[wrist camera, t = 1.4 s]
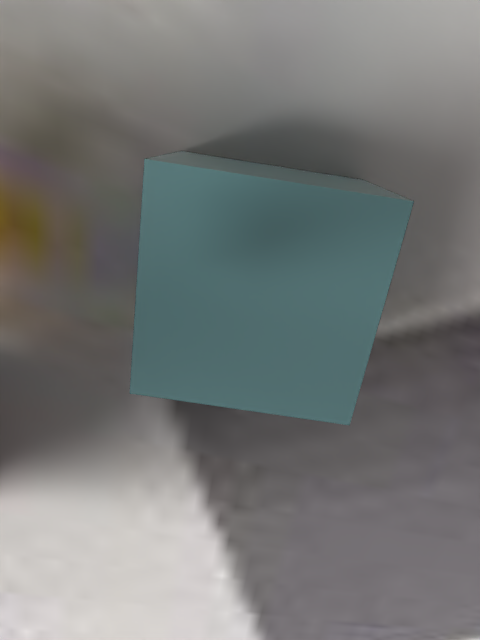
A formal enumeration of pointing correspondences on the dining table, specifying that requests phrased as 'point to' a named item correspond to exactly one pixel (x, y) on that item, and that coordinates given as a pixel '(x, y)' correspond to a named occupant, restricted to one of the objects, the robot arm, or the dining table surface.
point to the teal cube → (260, 284)
